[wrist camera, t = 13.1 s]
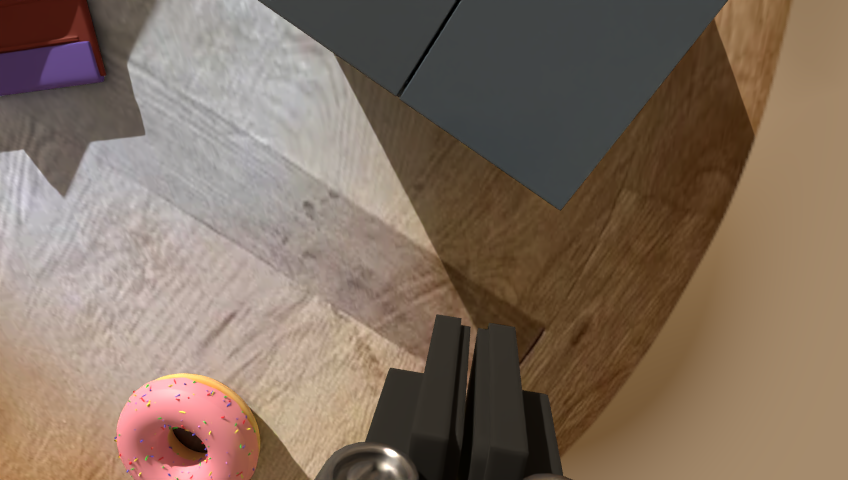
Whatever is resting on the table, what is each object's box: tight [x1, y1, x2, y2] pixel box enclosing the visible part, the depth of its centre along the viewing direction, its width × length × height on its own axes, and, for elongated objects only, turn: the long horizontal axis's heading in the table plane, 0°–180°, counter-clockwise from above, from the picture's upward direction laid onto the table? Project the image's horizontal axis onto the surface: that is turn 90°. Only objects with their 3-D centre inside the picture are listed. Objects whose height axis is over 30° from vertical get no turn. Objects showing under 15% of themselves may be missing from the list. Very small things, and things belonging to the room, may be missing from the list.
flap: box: [400, 0, 728, 211], centre depth 21 cm, size 8×14×1 cm, turn 146°
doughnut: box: [114, 374, 260, 480], centre depth 41 cm, size 11×11×4 cm
